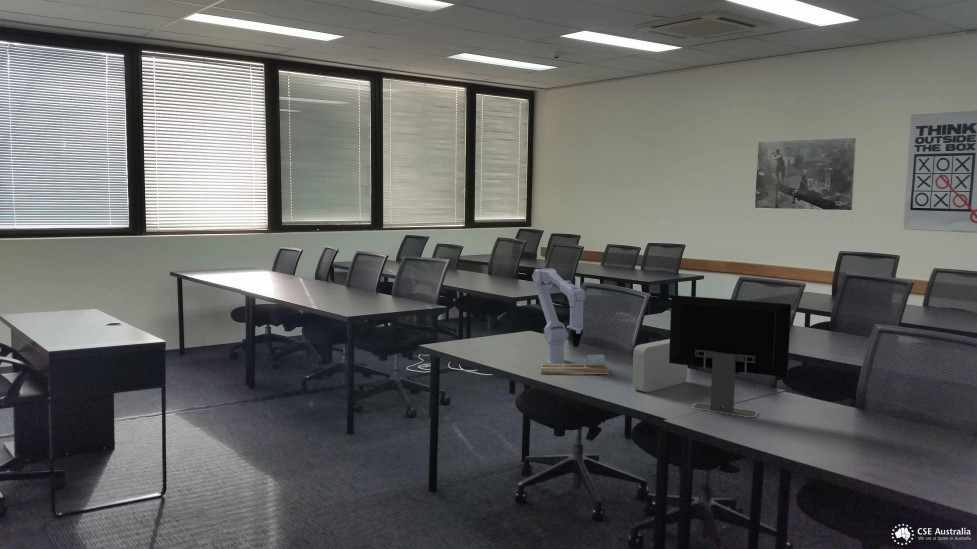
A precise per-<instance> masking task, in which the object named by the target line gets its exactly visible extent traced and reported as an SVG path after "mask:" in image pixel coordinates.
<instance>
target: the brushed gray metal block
mask: <svg viewBox="0 0 977 549" xmlns="http://www.w3.org/2000/svg"><path fill="white" fill-rule="evenodd" d="M586 356H587V357H586V359H587V360H586V361H587V362H586V363H587V367H604V364H605V357H606V356H605V355H604V354H586Z"/></svg>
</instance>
